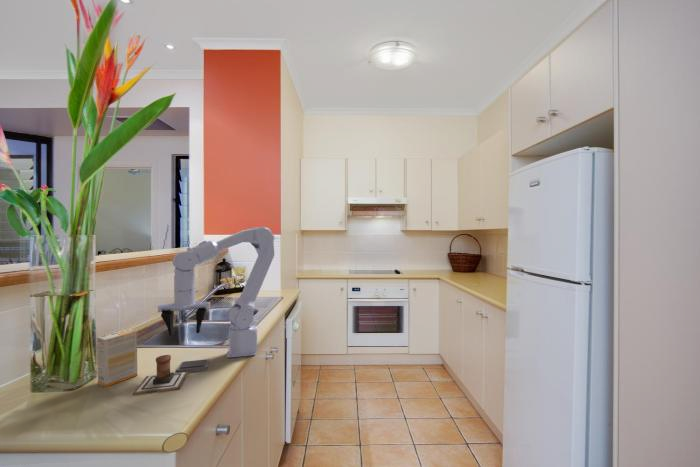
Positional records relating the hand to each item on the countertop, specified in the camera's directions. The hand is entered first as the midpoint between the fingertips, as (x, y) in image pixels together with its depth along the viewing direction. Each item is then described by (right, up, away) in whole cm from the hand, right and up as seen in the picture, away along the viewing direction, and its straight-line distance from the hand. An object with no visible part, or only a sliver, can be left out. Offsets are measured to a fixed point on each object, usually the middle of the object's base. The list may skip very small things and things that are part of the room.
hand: (184, 333), depth 101 cm
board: (0, -10, -12) cm, 16 cm away
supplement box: (-14, -10, -10) cm, 20 cm away
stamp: (0, -9, -12) cm, 15 cm away
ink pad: (+4, -10, -2) cm, 11 cm away
